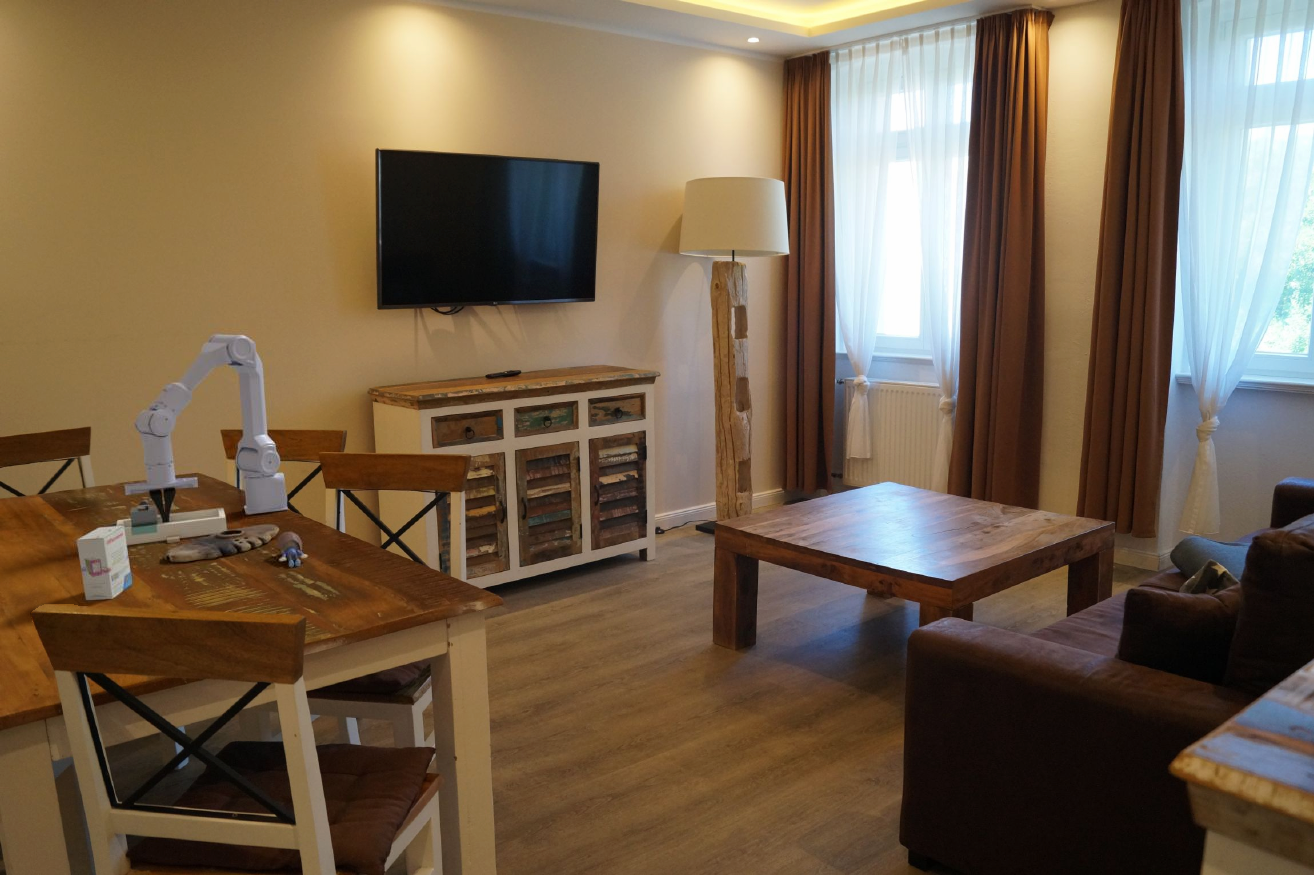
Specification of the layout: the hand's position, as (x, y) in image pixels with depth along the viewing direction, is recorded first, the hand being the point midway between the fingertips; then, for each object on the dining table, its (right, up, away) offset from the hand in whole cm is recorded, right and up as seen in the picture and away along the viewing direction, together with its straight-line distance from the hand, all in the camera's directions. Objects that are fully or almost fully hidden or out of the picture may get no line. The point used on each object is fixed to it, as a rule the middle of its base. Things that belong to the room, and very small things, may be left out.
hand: (165, 521), depth 219 cm
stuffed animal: (-9, -2, +10) cm, 14 cm away
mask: (+18, -5, -10) cm, 21 cm away
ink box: (+9, -10, -38) cm, 40 cm away
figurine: (+36, -6, -20) cm, 42 cm away
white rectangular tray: (+2, -3, 0) cm, 4 cm away
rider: (-4, -1, -2) cm, 4 cm away
